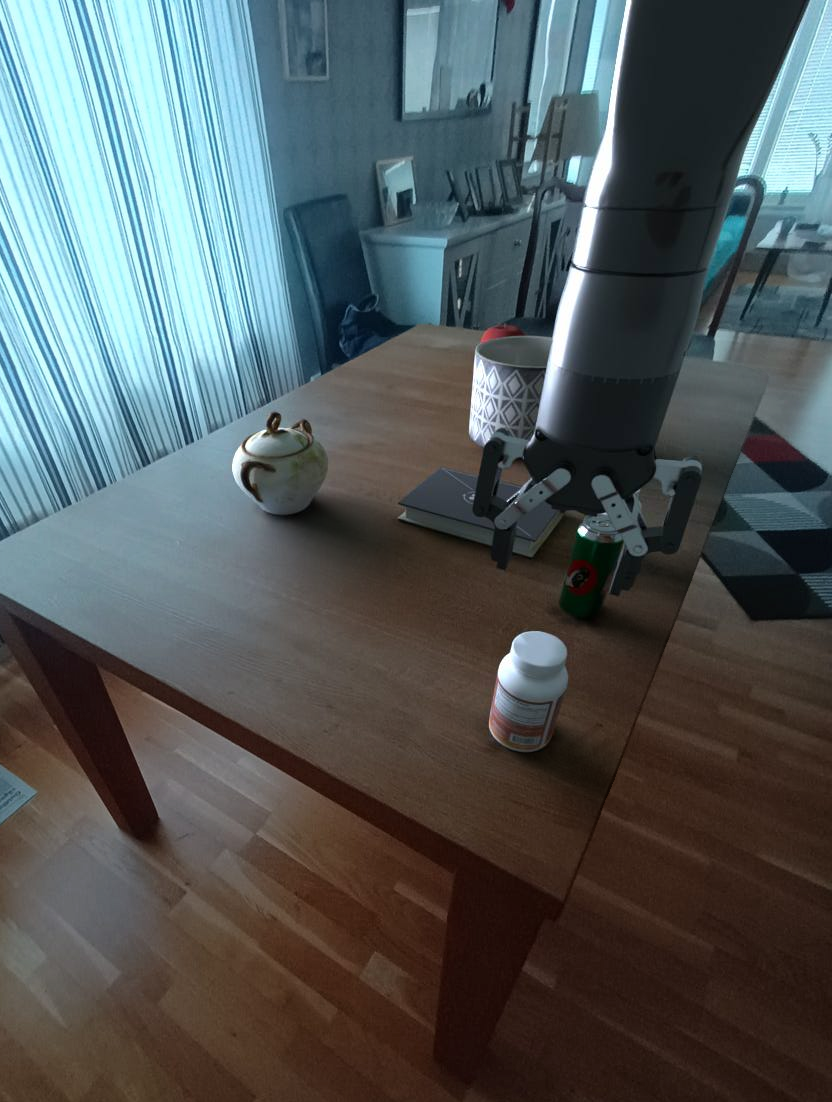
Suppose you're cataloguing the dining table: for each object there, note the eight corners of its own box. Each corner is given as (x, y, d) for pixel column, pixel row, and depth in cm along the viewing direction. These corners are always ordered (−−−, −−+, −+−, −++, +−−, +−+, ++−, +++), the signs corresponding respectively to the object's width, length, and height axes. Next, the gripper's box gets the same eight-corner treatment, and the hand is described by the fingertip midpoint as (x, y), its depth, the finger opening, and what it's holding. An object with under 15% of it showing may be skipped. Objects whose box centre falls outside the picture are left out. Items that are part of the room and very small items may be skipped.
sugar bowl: (293, 541, 85) (282, 443, 76) (212, 521, 91) (191, 427, 81) (351, 485, 99) (348, 395, 89) (277, 470, 104) (266, 384, 94)
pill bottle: (521, 698, 60) (541, 616, 53) (565, 738, 56) (592, 655, 49) (475, 721, 58) (488, 639, 51) (516, 764, 54) (537, 682, 47)
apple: (521, 384, 135) (529, 329, 127) (475, 382, 137) (481, 327, 129) (522, 369, 143) (530, 317, 135) (478, 368, 145) (484, 316, 137)
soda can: (603, 622, 69) (632, 536, 61) (560, 619, 70) (583, 533, 62) (596, 597, 73) (623, 513, 65) (555, 594, 74) (577, 510, 66)
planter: (578, 433, 112) (600, 341, 102) (556, 473, 100) (578, 372, 89) (483, 419, 119) (494, 331, 108) (451, 454, 107) (460, 359, 96)
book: (565, 513, 89) (570, 496, 87) (531, 559, 80) (535, 540, 78) (439, 482, 98) (441, 465, 96) (396, 520, 89) (397, 502, 87)
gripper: (481, 359, 34) (455, 581, 45) (753, 387, 29) (652, 628, 40) (511, 329, 39) (481, 535, 50) (747, 348, 34) (659, 572, 45)
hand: (557, 576), depth 45 cm, fingers open, 8 cm apart
